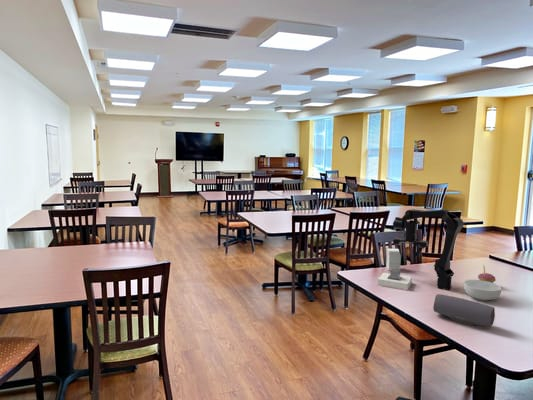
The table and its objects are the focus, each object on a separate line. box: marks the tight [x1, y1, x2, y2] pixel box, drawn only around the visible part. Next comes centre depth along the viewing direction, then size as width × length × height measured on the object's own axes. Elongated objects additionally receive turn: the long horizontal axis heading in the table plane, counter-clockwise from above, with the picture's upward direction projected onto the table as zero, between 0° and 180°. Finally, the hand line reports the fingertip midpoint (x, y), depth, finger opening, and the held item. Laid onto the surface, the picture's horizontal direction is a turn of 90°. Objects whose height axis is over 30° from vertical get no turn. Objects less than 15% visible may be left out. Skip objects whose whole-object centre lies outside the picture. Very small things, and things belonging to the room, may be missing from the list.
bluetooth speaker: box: [432, 293, 496, 328], centre depth 169 cm, size 23×9×10 cm, turn 48°
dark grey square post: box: [389, 269, 401, 281], centre depth 218 cm, size 4×4×8 cm
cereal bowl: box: [463, 279, 503, 302], centre depth 198 cm, size 17×17×7 cm
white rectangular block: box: [385, 248, 402, 271], centre depth 247 cm, size 7×7×13 cm
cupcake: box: [477, 264, 496, 283], centre depth 217 cm, size 9×8×12 cm
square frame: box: [377, 272, 413, 291], centre depth 219 cm, size 16×14×4 cm
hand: (409, 256), depth 228 cm, fingers open, 9 cm apart
